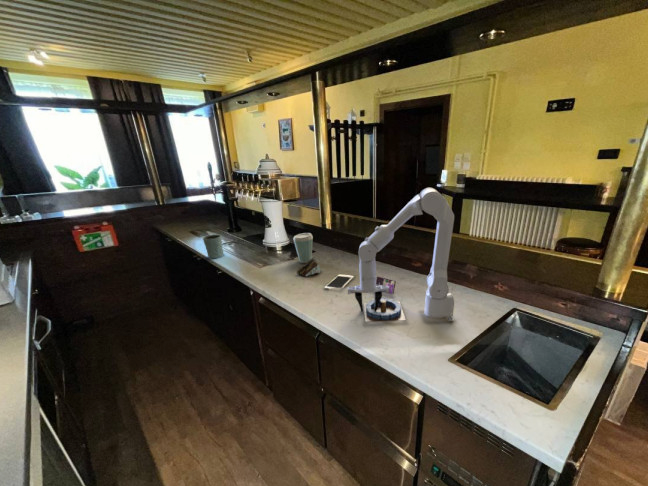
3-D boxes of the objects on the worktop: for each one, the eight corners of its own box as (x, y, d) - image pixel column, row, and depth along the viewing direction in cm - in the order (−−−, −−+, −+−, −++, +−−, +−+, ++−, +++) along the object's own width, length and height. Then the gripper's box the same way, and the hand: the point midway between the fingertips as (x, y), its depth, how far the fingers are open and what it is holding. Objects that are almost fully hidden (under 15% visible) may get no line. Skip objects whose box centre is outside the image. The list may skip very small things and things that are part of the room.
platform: (399, 304, 117) (399, 291, 115) (405, 323, 104) (406, 309, 102) (363, 306, 117) (363, 293, 115) (365, 325, 105) (364, 311, 102)
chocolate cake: (302, 280, 144) (318, 260, 144) (294, 272, 148) (309, 253, 148) (313, 286, 152) (328, 267, 152) (305, 279, 156) (320, 261, 156)
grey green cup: (210, 253, 187) (205, 235, 182) (227, 252, 188) (223, 233, 182) (205, 259, 178) (200, 239, 173) (222, 258, 178) (218, 238, 173)
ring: (398, 302, 116) (398, 298, 115) (403, 319, 104) (403, 314, 104) (365, 303, 116) (365, 299, 115) (367, 320, 105) (367, 316, 104)
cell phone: (354, 277, 143) (354, 275, 143) (340, 291, 130) (340, 289, 130) (339, 275, 146) (339, 274, 146) (324, 288, 133) (324, 287, 133)
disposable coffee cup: (296, 265, 162) (293, 238, 155) (295, 259, 171) (292, 233, 165) (316, 263, 164) (313, 236, 157) (313, 256, 173) (311, 231, 167)
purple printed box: (376, 276, 126) (394, 281, 121) (382, 276, 130) (400, 281, 125) (373, 291, 127) (391, 297, 122) (379, 291, 132) (397, 296, 126)
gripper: (387, 270, 108) (387, 304, 114) (347, 272, 108) (348, 305, 114) (389, 278, 101) (389, 313, 107) (346, 280, 102) (348, 315, 107)
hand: (368, 310), depth 110 cm, fingers open, 4 cm apart
